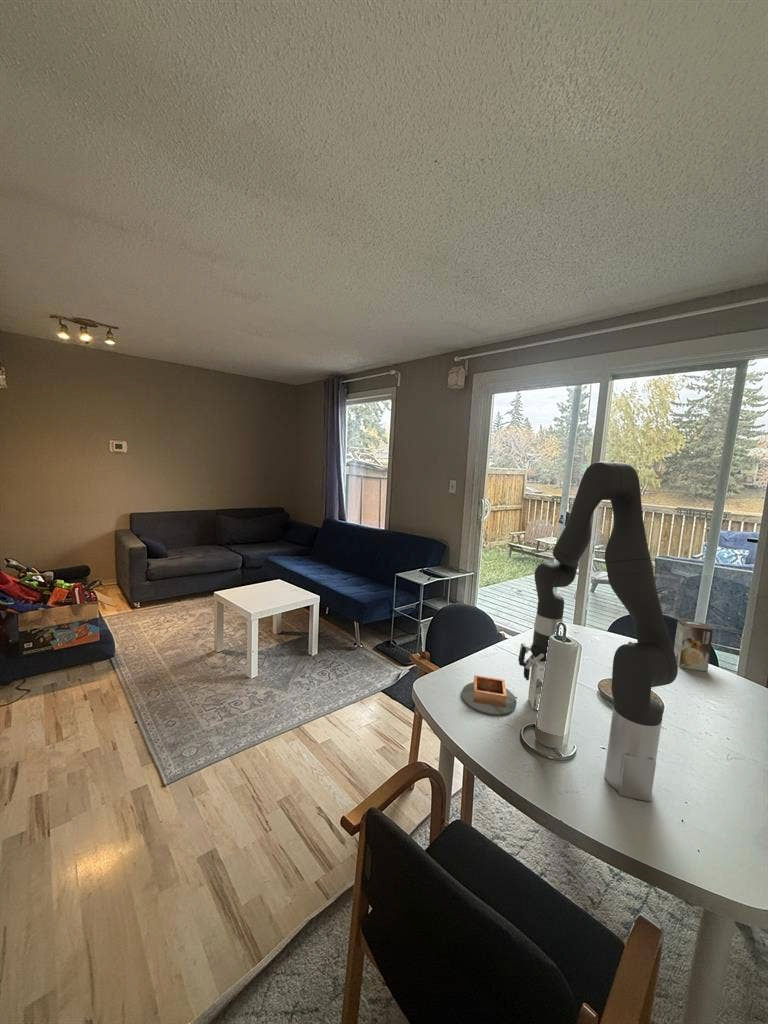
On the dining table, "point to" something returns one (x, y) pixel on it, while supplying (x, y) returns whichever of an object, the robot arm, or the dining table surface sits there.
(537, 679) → the syrup box
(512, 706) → the rosette socket
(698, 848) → the dining table surface
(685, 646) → the coffee box
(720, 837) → the dining table surface
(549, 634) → the robot arm
